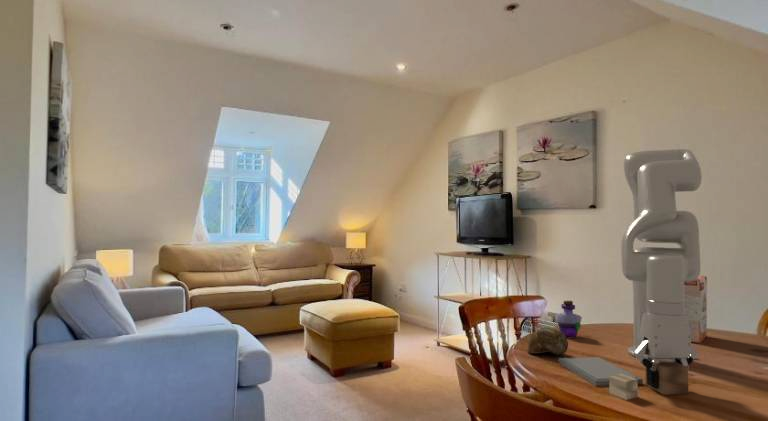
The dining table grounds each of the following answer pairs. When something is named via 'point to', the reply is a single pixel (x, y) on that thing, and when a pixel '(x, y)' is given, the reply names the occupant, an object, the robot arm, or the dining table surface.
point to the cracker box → (696, 308)
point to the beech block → (623, 386)
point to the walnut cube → (671, 377)
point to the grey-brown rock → (548, 341)
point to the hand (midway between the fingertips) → (666, 385)
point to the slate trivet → (595, 369)
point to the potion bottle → (568, 320)
